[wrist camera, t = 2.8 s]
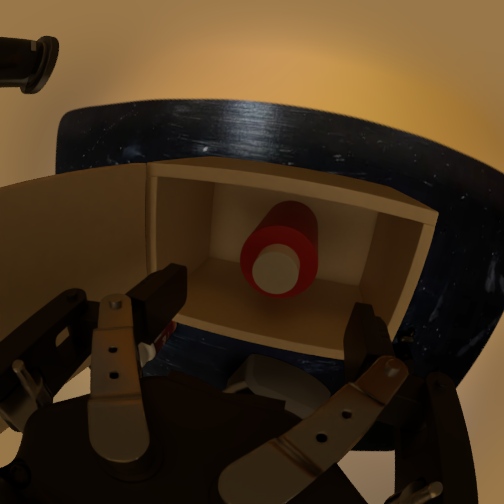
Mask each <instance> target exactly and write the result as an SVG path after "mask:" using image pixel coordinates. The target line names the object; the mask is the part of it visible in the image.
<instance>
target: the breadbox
mask: <svg viewBox="0 0 504 504" xmlns="http://www.w3.org/2000/svg"><path fill="white" fill-rule="evenodd" d="M289 200H292V201H298V202H301V203H303V204H305V205H306V206H308V207H309V208H310V209H311V210H312V211H313V213H314V214H315V216H316V219H317V223H318V271H317V274H316V277H315V279H314V281H313V282H312V284H311V285H310V286H309V287H308V288H307V289H306V290H305V291H303V292H302V293H300V294H298V295H296V296H293V297H289V298H273V297H269V296H266V295H264V294H261V293H260V292H258V291H257V290H255V289H254V288H253V287H252V286H251V285H250V284H249V283H248V282H247V280H246V279H245V277H244V275H243V273H242V270H241V265H240V254H241V250H242V247H243V245H244V243H245V241H246V240H247V239H248V237H249V236H250V235H251V233H252V232H253V231H254V230H255V228H256V227H257V226H258V225H259V223H260V222H261V221H262V220H263V218H264V217H265V216H266V215H267V213H268V212H269V211H270V210H271V208H272V207H274V206H275V205H276V204H278V203H280V202H283V201H289ZM437 218H438V212H437V211H435V210H433V209H431V208H430V207H428V206H426V205H424V204H422V203H420V202H418V201H417V200H415V199H413V198H411V197H409V196H407V195H405V194H403V193H401V192H399V191H397V190H395V189H393V188H391V187H388V186H384V185H380V184H376V183H372V182H368V181H364V180H360V179H355V178H351V177H346V176H341V175H336V174H331V173H326V172H321V171H316V170H310V169H305V168H299V167H293V166H287V165H280V164H273V163H266V162H259V161H251V160H243V159H234V158H224V157H214V156H210V157H197V158H185V159H174V160H165V161H156V162H148V163H147V180H146V252H147V272H148V275H149V274H151V273H153V272H155V271H158V270H163V269H164V268H165V267H166V266H167V265H169V264H170V263H175V264H180V265H184V266H186V267H187V299H186V302H185V305H184V306H183V307H182V309H181V310H180V311H179V312H178V313H177V315H176V316H175V317H174V318H173V319H172V321H175V322H179V323H182V324H185V325H189V326H192V327H195V328H199V329H202V330H206V331H210V332H213V333H217V334H221V335H225V336H228V337H232V338H236V339H240V340H244V341H249V342H253V343H257V344H262V345H266V346H271V347H275V348H280V349H285V350H290V351H295V352H300V353H306V354H311V355H317V356H323V357H329V358H335V359H342V360H344V347H343V338H344V333H345V329H346V327H347V324H348V321H349V318H350V316H351V313H352V310H353V307H354V305H355V303H356V302H360V303H366V304H371V305H372V307H373V310H374V314H375V316H378V317H381V319H382V320H383V321H384V322H385V323H386V325H387V329H388V333H389V335H390V339H391V342H392V341H393V339H394V337H395V334H396V332H397V330H398V328H399V326H400V324H401V321H402V319H403V317H404V315H405V312H406V310H407V308H408V305H409V303H410V300H411V298H412V295H413V293H414V290H415V288H416V285H417V282H418V280H419V277H420V274H421V271H422V268H423V265H424V262H425V259H426V256H427V253H428V250H429V247H430V243H431V240H432V237H433V233H434V229H435V225H436V222H437Z"/></svg>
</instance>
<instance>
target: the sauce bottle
mask: <svg viewBox="0 0 504 504" xmlns="http://www.w3.org/2000/svg"><path fill="white" fill-rule="evenodd" d="M240 265H241V270H242V273H243V275H244V277H245V279H246V280H247V282H248V283H249V284H250V285H251V286H252V287H253V288H254V289H255V290H257V291H258V292H260V293H261V294H264V295H266V296H269V297H273V298H289V297H293V296H296V295H298V294H300V293H302V292H303V291H305V290H306V289H307V288H308V287H309V286H310V285H311V284H312V282H313V281H314V279H315V277H316V274H317V271H318V223H317V219H316V216H315V214H314V213H313V211H312V210H311V209H310V208H309V207H308V206H306V205H305V204H303V203H301V202H298V201H292V200H289V201H283V202H280V203H278V204H276V205H275V206H274V207H272V208H271V210H270V211H269V212H268V213H267V215H266V216H265V217H264V218H263V220H262V221H261V222H260V223H259V225H258V226H257V227H256V228H255V230H254V231H253V232H252V233H251V235H250V236H249V237H248V239H247V240H246V241H245V243H244V245H243V247H242V250H241V254H240Z"/></svg>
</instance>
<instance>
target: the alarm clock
mask: <svg viewBox="0 0 504 504" xmlns="http://www.w3.org/2000/svg"><path fill="white" fill-rule="evenodd" d="M222 392H225V393H237V394H257V395H261V396H266V397H270V398H275V399H280V400H285V401H286V403H285V409H286V410H288V411H290V412H292V413H294V414H296V415H297V416H298V417H300V418H301V419H302V420H304V419H305V418H306V417H307V416H309V415H310V414H311V413H313V412H314V411H315V410H316V409H318V408H319V407H320V406H321V405H322V404H324V403H325V402H326V401H327V400H328V399H329V398H330V391H329V390H328V389H327V388H326V386H325V385H323V384H322V383H321V382H320V381H319V380H317V379H316V378H315V377H313V376H312V375H310V374H308V373H307V372H305V371H304V370H302V369H300V368H298V367H295V366H293V365H291V364H289V363H286V362H284V361H281V360H278V359H275V358H272V357H269V356H264V355H259V354H251V355H250V356H249V357H248V358H247V359H246V360H245V361H244V363H243V364H242V365H241V366H240V367H239V368H238V369H237V370H236V371H235V372H234V374H233V375H232V376H231V377H230V378H229V379H228V383H227V388H226V389H225V390H224V391H222Z"/></svg>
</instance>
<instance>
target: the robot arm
mask: <svg viewBox="0 0 504 504" xmlns="http://www.w3.org/2000/svg"><path fill="white" fill-rule="evenodd" d="M46 56H47V44H46V43H45V42H43V41H33V40H27V39H17V38H7V37H0V87H22V88H28V87H30V86H32V85H33V84H34V82H35V81H36V80H37V78H38V77H39V75H40V73H41V71H42V69H43V66H44V63H45V60H46ZM186 299H187V267H186V266H184V265H180V264H175V263H170V264H169V265H167V266H166V267H165V268H164V269H163V270H158V271H155V272H153V273H151V274H149V275H148V276H147V277H146V278H145V279H143V280H142V281H140V283H138V284H137V285H135V286H134V287H133V288H132V289H131V290H129V291H128V292H127V293H126V294H119V293H116V294H110V295H107V296H105V297H104V298H102V300H101V301H100V302H97V301H89V300H87V296H86V292H85V291H84V290H82V289H79V288H72V289H68V290H65V291H63V292H62V293H60V294H59V295H58V296H56V297H55V298H54V299H52V300H51V301H50V302H48V303H47V304H46V305H45V306H43V307H42V308H41V309H39V310H38V311H37V312H36V313H34V314H33V315H32V316H31V317H29V318H28V319H27V320H26V321H24V322H23V323H22V324H21V325H19V326H18V327H17V328H16V329H15V330H13V331H12V332H11V333H10V334H9V335H8V336H6V337H5V338H4V339H3V340H2V341H1V342H0V417H1V418H2V419H3V420H4V421H5V422H6V423H7V424H8V426H9V427H10V428H11V429H12V430H14V431H17V432H22V433H23V436H22V441H21V444H20V447H19V450H18V452H17V455H16V457H15V458H14V460H13V461H12V462H11V463H10V464H8V465H6V466H4V467H1V468H0V504H368V503H367V502H366V501H365V499H364V498H363V497H362V496H361V495H360V493H359V492H358V491H357V489H356V488H355V487H354V485H353V484H352V483H351V482H350V480H349V479H348V478H347V476H346V475H345V474H344V472H343V471H342V470H341V468H340V467H339V466H338V464H337V463H338V462H339V461H340V460H341V459H342V458H343V457H344V456H345V455H346V454H347V453H348V452H349V451H350V450H351V448H352V447H353V446H354V445H355V444H356V443H357V442H358V441H359V440H360V439H361V438H362V436H363V435H364V434H365V433H366V432H367V431H368V430H369V428H370V427H371V426H372V425H373V424H374V423H375V421H376V420H378V421H381V422H384V423H387V424H390V425H393V426H394V440H395V493H394V494H393V495H392V496H390V497H389V498H388V499H387V500H386V501H385V503H384V504H478V492H477V483H476V475H475V468H474V462H473V456H472V451H471V445H470V440H469V436H468V431H467V427H466V423H465V419H464V416H463V412H462V408H461V405H460V402H459V398H458V395H457V392H456V388H455V385H454V383H453V381H452V380H451V379H450V378H449V377H448V376H447V375H445V374H443V373H440V372H432V373H430V374H429V375H428V376H427V378H426V379H425V380H424V379H421V378H418V377H415V376H412V375H410V374H408V373H409V372H408V368H407V366H406V364H405V363H404V362H403V361H402V360H400V359H399V358H397V357H396V356H395V352H394V349H393V345H392V342H391V339H390V335H389V333H388V329H387V325H386V323H385V322H384V321H383V320H382V319H381V317H378V316H375V314H374V310H373V307H372V305H371V304H366V303H360V302H356V303H355V305H354V307H353V310H352V313H351V316H350V318H349V321H348V324H347V327H346V329H345V333H344V338H343V347H344V364H345V385H344V386H343V387H342V388H341V389H340V390H339V391H338V392H337V393H335V394H334V395H333V396H332V397H331V398H330V399H328V400H327V401H326V402H325V403H324V404H322V405H321V406H320V407H319V408H318V409H316V410H315V411H314V412H313V413H311V414H310V415H309V416H307V417H306V418H305V419H304V420H302V419H301V418H300V417H298V416H297V415H296V414H294V413H292V412H290V411H288V410H286V409H285V403H286V401H285V400H280V399H275V398H270V397H266V396H261V395H257V394H237V393H225V392H222V391H220V390H218V389H217V388H215V387H213V386H211V385H209V384H207V383H206V382H204V381H202V380H200V379H198V378H196V377H193V376H190V375H187V374H184V373H181V372H178V371H175V370H171V372H170V373H169V375H168V376H147V377H143V372H142V366H141V360H140V353H139V347H138V345H139V344H140V343H141V342H142V343H145V344H147V345H150V346H151V344H152V343H153V342H154V341H155V340H156V338H157V337H158V336H159V335H160V334H161V332H162V331H163V330H164V329H165V328H166V326H167V325H168V324H169V323H170V322H171V320H172V319H173V318H174V317H175V316H176V315H177V313H178V312H179V311H180V310H181V309H182V307H183V306H184V305H185V302H186ZM66 327H67V330H68V333H69V336H68V337H67V338H66V339H65V340H64V341H63V342H62V343H61V344H60V345H59V346H56V338H57V336H58V335H59V334H60V333H61V332H62V331H63V330H64V329H65V328H66ZM90 355H91V381H90V382H91V384H90V390H91V393H90V394H86V395H83V396H80V397H76V398H72V399H68V400H64V401H60V402H56V403H53V397H54V396H55V395H56V394H57V393H58V391H59V390H60V389H61V388H62V387H63V385H64V384H65V383H66V382H67V381H68V380H69V378H70V377H71V376H72V375H73V374H74V373H75V372H76V370H77V369H78V368H79V367H80V366H81V365H82V364H83V362H84V361H85V360H86V359H87V358H88V357H89V356H90Z"/></svg>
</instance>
